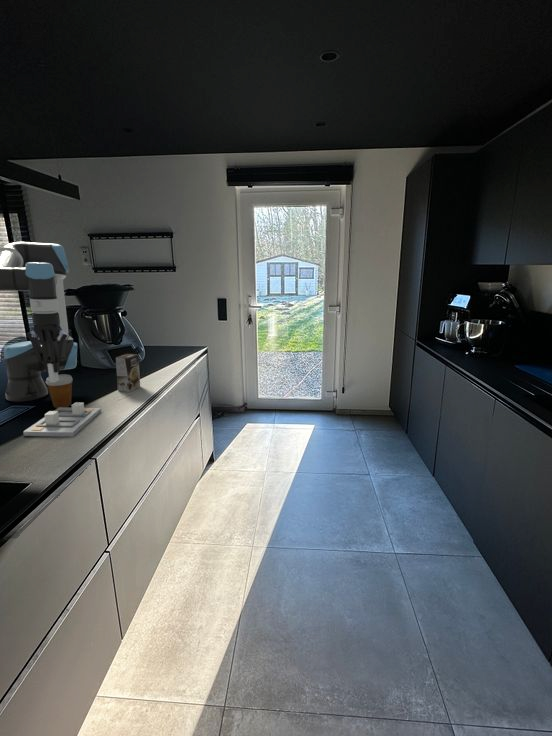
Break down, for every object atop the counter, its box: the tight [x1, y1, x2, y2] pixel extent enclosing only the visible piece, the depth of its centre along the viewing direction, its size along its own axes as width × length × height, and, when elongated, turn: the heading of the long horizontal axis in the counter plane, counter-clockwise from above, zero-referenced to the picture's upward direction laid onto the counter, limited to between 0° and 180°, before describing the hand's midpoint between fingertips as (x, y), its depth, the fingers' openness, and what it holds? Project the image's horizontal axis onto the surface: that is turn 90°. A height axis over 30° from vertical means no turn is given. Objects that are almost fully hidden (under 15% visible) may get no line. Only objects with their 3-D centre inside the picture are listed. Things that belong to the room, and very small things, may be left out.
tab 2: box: [71, 401, 85, 415], centre depth 134 cm, size 3×3×4 cm
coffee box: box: [115, 353, 141, 393], centre depth 167 cm, size 9×6×16 cm
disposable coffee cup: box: [45, 373, 73, 409], centre depth 144 cm, size 10×10×12 cm
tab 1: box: [44, 410, 59, 425], centre depth 125 cm, size 3×3×4 cm
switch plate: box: [22, 406, 102, 438], centre depth 130 cm, size 16×22×2 cm
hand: (54, 381), depth 121 cm, fingers closed
